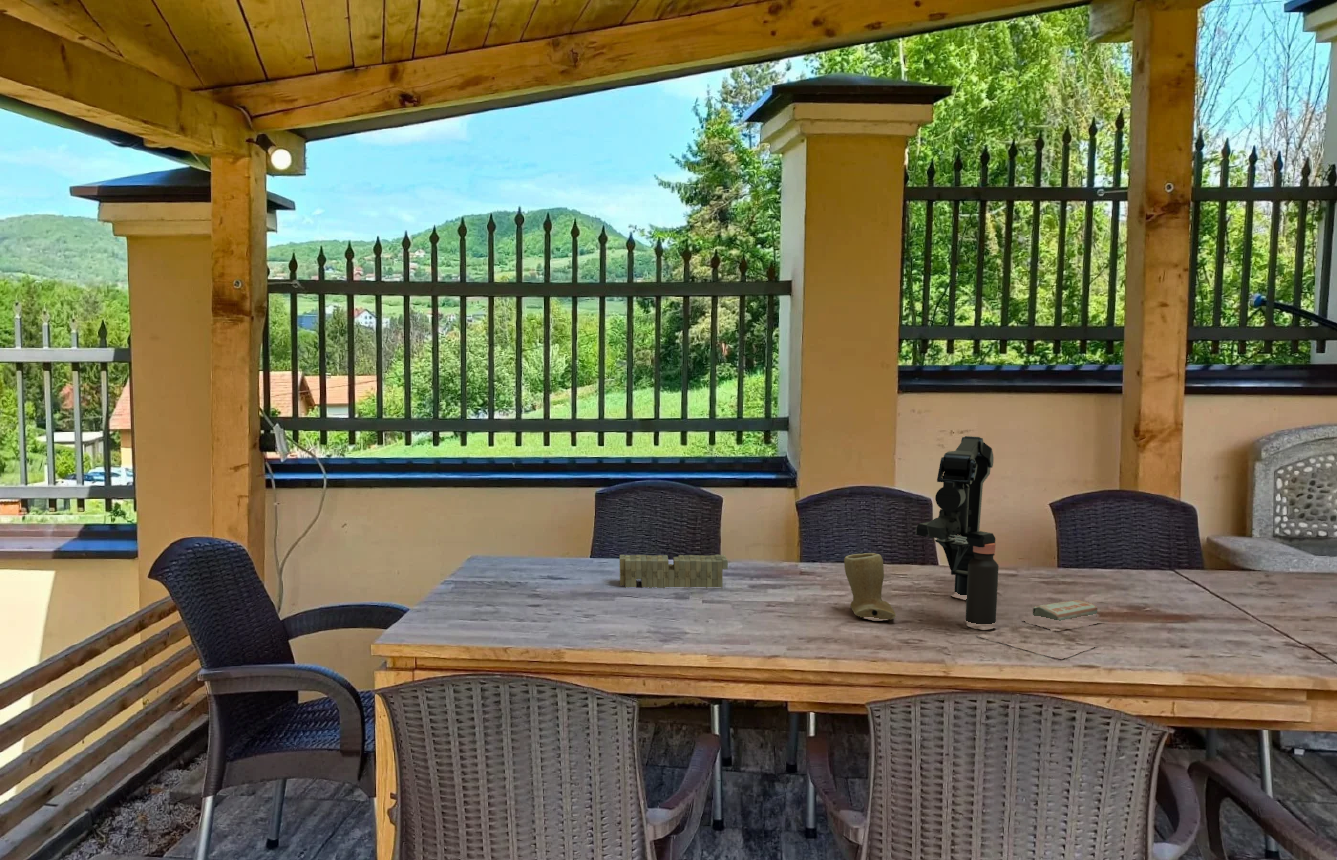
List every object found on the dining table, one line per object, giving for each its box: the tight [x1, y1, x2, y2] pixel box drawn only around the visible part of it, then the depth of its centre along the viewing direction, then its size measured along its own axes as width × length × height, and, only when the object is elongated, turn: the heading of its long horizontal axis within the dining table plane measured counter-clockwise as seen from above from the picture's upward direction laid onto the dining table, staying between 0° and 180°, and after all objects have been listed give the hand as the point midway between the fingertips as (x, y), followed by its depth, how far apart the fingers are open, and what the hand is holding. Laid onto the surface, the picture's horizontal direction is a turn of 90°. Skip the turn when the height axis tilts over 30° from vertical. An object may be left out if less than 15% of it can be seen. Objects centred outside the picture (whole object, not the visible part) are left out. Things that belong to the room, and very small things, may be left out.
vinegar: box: [965, 542, 1000, 624], centre depth 213 cm, size 7×7×20 cm
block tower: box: [619, 554, 729, 589], centre depth 248 cm, size 8×8×29 cm
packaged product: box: [1032, 599, 1098, 621], centre depth 220 cm, size 18×5×10 cm
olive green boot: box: [843, 552, 897, 620], centre depth 222 cm, size 15×12×15 cm
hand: (952, 569), depth 219 cm, fingers closed
